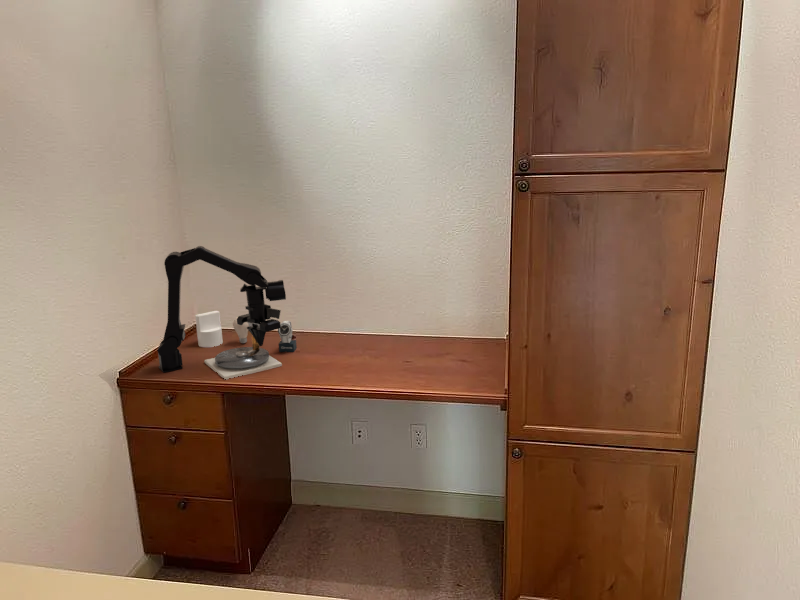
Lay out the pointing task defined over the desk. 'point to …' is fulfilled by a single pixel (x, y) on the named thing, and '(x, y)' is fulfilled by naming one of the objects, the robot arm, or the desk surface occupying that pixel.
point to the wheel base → (233, 373)
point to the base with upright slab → (209, 329)
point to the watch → (286, 338)
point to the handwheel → (242, 357)
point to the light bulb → (241, 330)
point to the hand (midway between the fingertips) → (261, 345)
